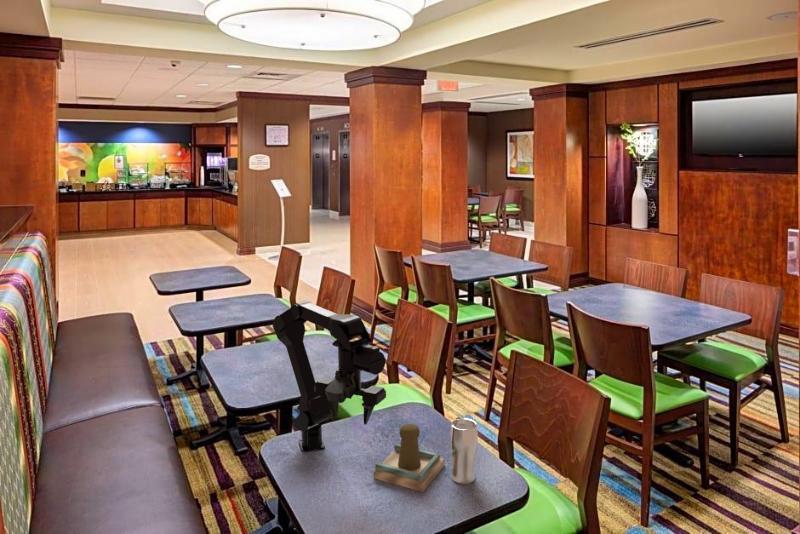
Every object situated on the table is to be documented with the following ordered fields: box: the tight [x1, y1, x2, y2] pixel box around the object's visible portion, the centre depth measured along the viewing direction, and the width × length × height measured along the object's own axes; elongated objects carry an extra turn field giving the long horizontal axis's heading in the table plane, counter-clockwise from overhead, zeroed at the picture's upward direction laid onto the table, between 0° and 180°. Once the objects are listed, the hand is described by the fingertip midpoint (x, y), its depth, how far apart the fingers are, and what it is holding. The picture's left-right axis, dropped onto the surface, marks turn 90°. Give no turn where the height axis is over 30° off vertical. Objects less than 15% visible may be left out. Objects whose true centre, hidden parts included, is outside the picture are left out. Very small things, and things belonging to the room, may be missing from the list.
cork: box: [398, 423, 421, 471], centre depth 155 cm, size 6×6×11 cm
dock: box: [373, 443, 445, 493], centre depth 156 cm, size 14×14×4 cm
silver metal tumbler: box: [449, 417, 479, 485], centre depth 152 cm, size 7×7×15 cm
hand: (350, 420), depth 157 cm, fingers open, 9 cm apart
